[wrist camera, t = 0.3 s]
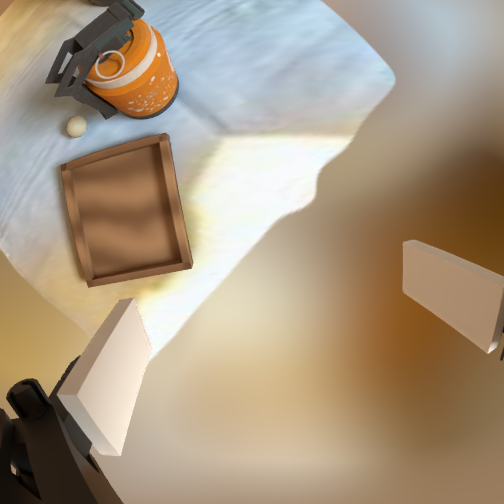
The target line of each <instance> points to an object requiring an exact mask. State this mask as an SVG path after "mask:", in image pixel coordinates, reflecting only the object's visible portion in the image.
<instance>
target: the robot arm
mask: <svg viewBox="0 0 504 504" xmlns="http://www.w3.org/2000/svg"><path fill="white" fill-rule="evenodd" d="M89 1H90V2H91V3H93V4H95V5H98V6H111V5H113V4H114V3H115V2H118V3H119V4H121V2H122V1H124V0H89ZM129 1H130V0H129ZM403 292H404V293H405V294H406V295H408V296H409V297H411V298H412V299H414V300H415V301H417V302H418V303H419V304H421V305H422V306H424V307H425V308H427V309H428V310H430V311H431V312H432V313H434V314H435V315H437V316H438V317H439V318H441V319H442V320H444V321H445V322H446V323H448V324H449V325H450V326H452V327H453V328H454V329H456V330H457V331H459V332H460V333H461V334H463V335H464V336H465V337H467V338H468V339H469V340H471V341H472V342H473V343H474V344H476V345H477V346H478V347H480V348H481V349H482V350H484V351H485V352H486V353H489V352H491V351H492V350H493V349H495V348H497V347H498V346H499V342H500V339H501V336H502V332H503V333H504V277H503V276H501V275H499V274H496V273H494V272H492V271H490V270H488V269H485V268H483V267H481V266H478V265H476V264H474V263H472V262H469V261H467V260H464V259H462V258H459V257H457V256H455V255H452V254H450V253H448V252H445V251H443V250H440V249H437V248H435V247H432V246H430V245H427V244H425V243H422V242H419V241H417V240H411V241H406V242H403ZM151 351H152V346H151V343H150V341H149V338H148V336H147V333H146V330H145V328H144V325H143V322H142V319H141V316H140V314H139V311H138V308H137V305H136V302H135V299H134V298H129V299H123V300H119V301H118V303H117V304H116V306H115V307H114V308H113V310H112V311H111V313H110V314H109V315H108V317H107V318H106V320H105V321H104V322H103V324H102V325H101V327H100V328H99V330H98V331H97V332H96V334H95V335H94V337H93V338H92V340H91V341H90V343H89V344H88V346H87V347H86V349H85V350H84V352H83V353H82V355H80V356H79V357H77V358H76V359H75V360H74V361H72V362H71V363H70V365H69V366H68V368H67V369H66V371H65V373H64V374H63V375H62V377H61V380H59V381H58V383H57V385H56V386H55V388H54V389H53V391H52V393H51V394H50V396H49V397H47V395H46V393H45V392H44V390H43V389H42V387H41V385H40V384H39V382H38V381H37V380H36V379H33V378H32V379H25V380H22V381H20V382H18V383H16V384H15V385H14V386H13V387H12V388H11V389H10V390H9V392H8V393H7V397H6V399H7V401H8V402H9V404H10V405H11V407H12V408H13V410H14V411H15V412H16V414H17V415H18V416H19V418H16V419H10V418H9V417H8V415H7V414H6V412H5V411H4V410H3V409H1V408H0V504H123V502H122V501H121V499H120V498H119V497H118V495H117V494H116V492H115V491H114V489H113V488H112V487H111V485H110V483H109V482H108V480H107V479H106V477H105V476H104V474H103V472H102V470H101V469H100V467H99V465H98V464H97V462H96V460H95V459H94V457H93V456H92V455H91V454H90V453H89V451H90V448H91V445H92V444H93V446H94V447H95V448H96V449H97V450H98V452H99V453H100V454H101V455H114V456H120V455H121V451H122V448H123V444H124V440H125V437H126V433H127V429H128V426H129V422H130V419H131V415H132V412H133V408H134V405H135V401H136V398H137V394H138V391H139V388H140V385H141V382H142V378H143V375H144V372H145V369H146V366H147V363H148V360H149V357H150V354H151ZM503 357H504V348H503V351H502V354H501V357H500V360H503ZM11 465H12V466H13V467H14V468H15V469H16V475H15V474H13V473H12V471H11Z"/></svg>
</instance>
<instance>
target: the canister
mask: <svg viewBox="0 0 504 504" xmlns="http://www.w3.org/2000/svg"><path fill="white" fill-rule="evenodd" d="M144 12H145V11H144V10H143V9H142V8H141V7H140V6H139V5H138V4H137V3H135V2H134V1H133V0H130V1H129V0H124V1H122V2H121V4H119V3H118V2H115V3H114V4H113V5H111V6H110V7H108V8H107V10H106V11H105V12H104V13H102V14H101V15H100V16H98V17H97V18H96V19H95V20H93V21H92V22H91V23H90V24H88V25H87V26H86V27H85V28H84V29H83V30H81V31H80V32H79V33H78V34H77V35H76V36H75V37H73V38H71V39H68V40H66V41H64V43H63V45H62V47H61V49H60V51H59V53H58V55H57V57H56V59H55V61H54V64H53V66H52V68H51V70H50V73H49V75H48V77H47V80H46V82H45V84H49V83H60V84H59V87H58V89H57V91H56V94H55V96H54V97H62V96H73V97H74V98H75V99H76V100H78V101H80V102H81V103H86V104H88V105H89V106H91V107H93V108H95V109H97V110H99V112H100V113H101V114H102V115H103V117H104V118H105V119H106V120H107V119H108V118H110V117H112V116H113V115H115V114H117V113H119V112H118V111H117V109H116V108H118V109H119V110H121V111H122V112H124V113H125V114H127V115H128V116H130V117H132V118H136V119H149V118H153V117H155V116H158V115H160V114H161V113H163V112H164V111H166V110H167V109H168V108H169V107H170V106H171V104H172V103H173V102H174V100H175V98H176V96H177V93H178V90H179V81H178V77H177V74H176V72H175V69H174V67H173V64H172V62H171V59H170V57H169V54H168V51H167V49H166V46H165V44H164V41H163V39H162V37H161V35H160V33H159V32H158V31H157V30H156V29H155V28H153V27H152V26H150V25H149V24H148V23H147V22H146V21H145V20H143V19H141V17H142V16H143V14H144ZM68 52H69V53H70V54H72V55H73V56H72V57H71V59H70V61H69V62H68V64H67V66H66V67H65V69H64V71H63V73H61V74H58V72H59V70H60V68H61V65H62V63H63V61H64V59H65V57H66V55H67V53H68ZM77 66H78V69H79V72H80V73H79V75H78V76H77V78H75V77H74V76H73V74H74V72H75V70H76V68H77ZM57 74H58V75H57ZM83 81H85V83H86V84H84V83H83ZM113 105H114V106H115V107H116V108H115V107H114V106H113Z"/></svg>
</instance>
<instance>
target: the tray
mask: <svg viewBox="0 0 504 504" xmlns="http://www.w3.org/2000/svg"><path fill="white" fill-rule="evenodd" d="M61 171H62V178H63V185H64V191H65V197H66V202H67V207H68V212H69V217H70V222H71V226H72V231H73V235H74V239H75V243H76V247H77V251H78V255H79V258H80V262H81V265H82V269H83V272H84V275H85V279H86V282H87V285H88V288H89V287H95V286H100V285H106V284H111V283H116V282H122V281H127V280H133V279H138V278H144V277H149V276H154V275H160V274H165V273H171V272H176V271H181V270H187V269H192V266H193V259H192V255H191V250H190V246H189V241H188V236H187V232H186V227H185V222H184V217H183V212H182V207H181V202H180V196H179V191H178V186H177V180H176V174H175V169H174V163H173V157H172V151H171V144H170V138H169V135H168V134H166V133H163V134H159V135H155V136H151V137H147V138H143V139H140V140H136V141H132V142H129V143H125V144H122V145H119V146H115V147H112V148H109V149H106V150H102V151H99V152H96V153H93V154H90V155H87V156H85V157H82V158H79V159H76V160H73V161H71V162H68V163H65V164H63V165H61Z"/></svg>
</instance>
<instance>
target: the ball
mask: <svg viewBox="0 0 504 504" xmlns="http://www.w3.org/2000/svg"><path fill="white" fill-rule="evenodd" d="M87 126H88V124H87V120H86V119H85V118H84V117H82V116H75V117H73V118H71V119H70V121H69V122H68V124H67V132H68V134H69V135H70V136H72V137H75V138H76V137H80V136H82V135H83V134H84V133H85V132H86V130H87Z"/></svg>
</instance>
